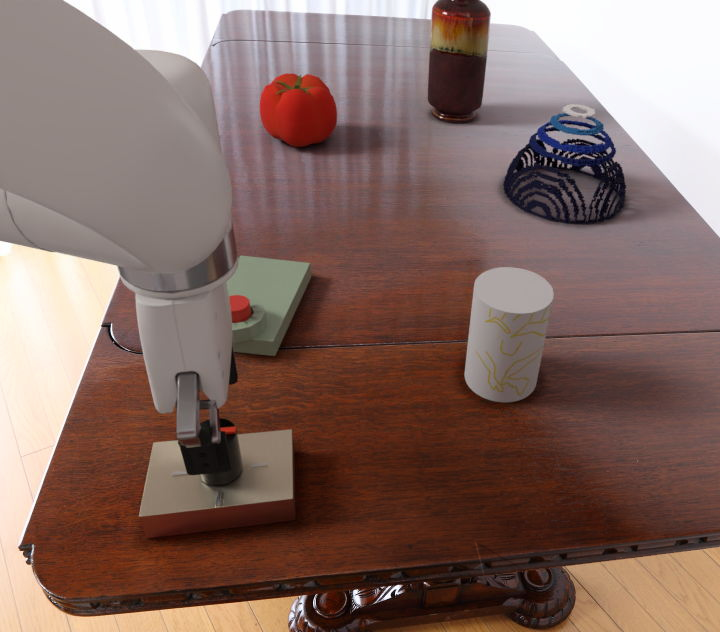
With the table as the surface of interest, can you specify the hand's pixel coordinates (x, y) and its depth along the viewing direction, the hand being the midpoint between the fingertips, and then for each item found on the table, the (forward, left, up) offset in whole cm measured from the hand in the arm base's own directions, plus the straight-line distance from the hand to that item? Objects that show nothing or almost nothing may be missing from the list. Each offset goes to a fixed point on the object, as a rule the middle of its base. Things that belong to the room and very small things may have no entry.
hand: (214, 423), depth 56 cm
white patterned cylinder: (+28, -12, -9) cm, 32 cm away
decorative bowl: (+74, +3, -9) cm, 75 cm away
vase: (+90, +36, -8) cm, 97 cm away
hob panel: (0, 0, -8) cm, 8 cm away
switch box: (+20, +18, -8) cm, 28 cm away
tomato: (+60, +49, -9) cm, 78 cm away
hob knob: (0, 0, -5) cm, 5 cm away
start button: (+15, +15, -5) cm, 21 cm away
